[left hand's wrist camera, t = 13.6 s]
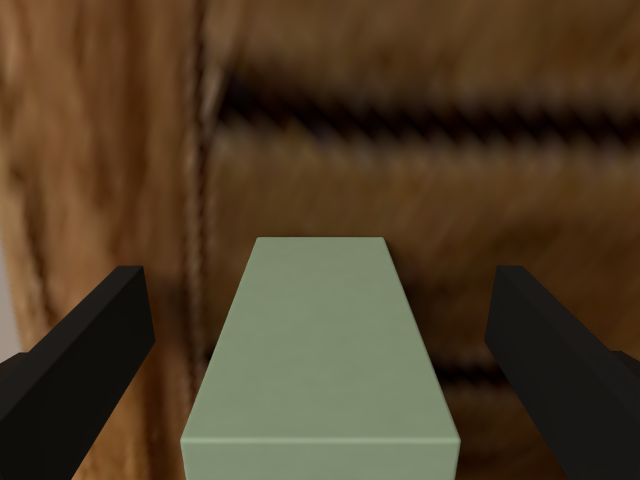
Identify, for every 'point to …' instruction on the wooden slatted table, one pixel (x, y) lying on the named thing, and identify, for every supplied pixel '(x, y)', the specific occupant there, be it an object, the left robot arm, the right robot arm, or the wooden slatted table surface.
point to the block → (320, 374)
